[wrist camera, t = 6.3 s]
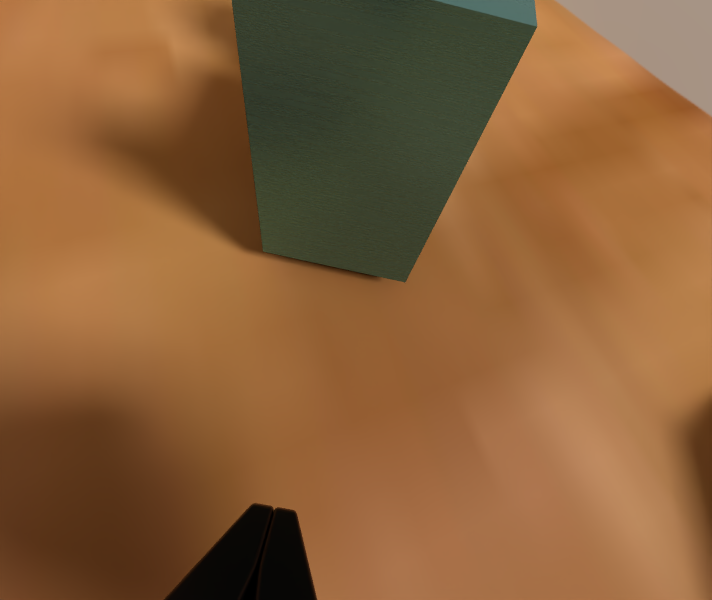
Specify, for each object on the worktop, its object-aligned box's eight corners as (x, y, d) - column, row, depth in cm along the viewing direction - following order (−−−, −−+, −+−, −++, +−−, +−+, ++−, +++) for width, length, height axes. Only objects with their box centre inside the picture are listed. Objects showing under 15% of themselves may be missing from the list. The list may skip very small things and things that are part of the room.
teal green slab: (405, 282, 16) (537, 26, 7) (263, 251, 16) (225, -53, 7) (428, 87, 22) (515, -179, 14) (326, 62, 22) (348, -226, 13)
